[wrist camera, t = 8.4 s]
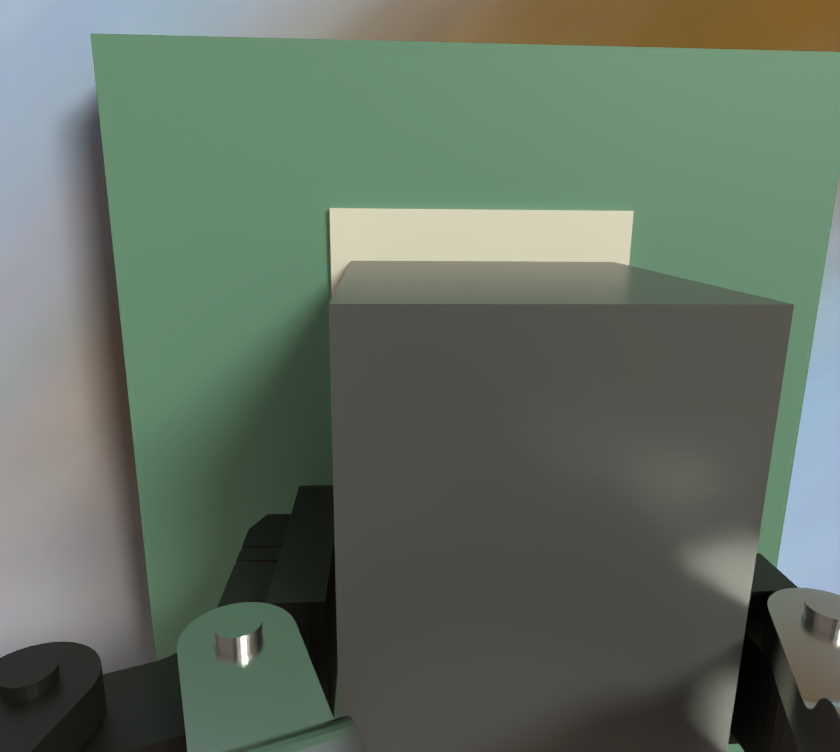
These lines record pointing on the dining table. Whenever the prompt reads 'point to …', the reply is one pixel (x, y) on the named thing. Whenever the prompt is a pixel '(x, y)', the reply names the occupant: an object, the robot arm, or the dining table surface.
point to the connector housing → (546, 502)
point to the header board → (415, 230)
